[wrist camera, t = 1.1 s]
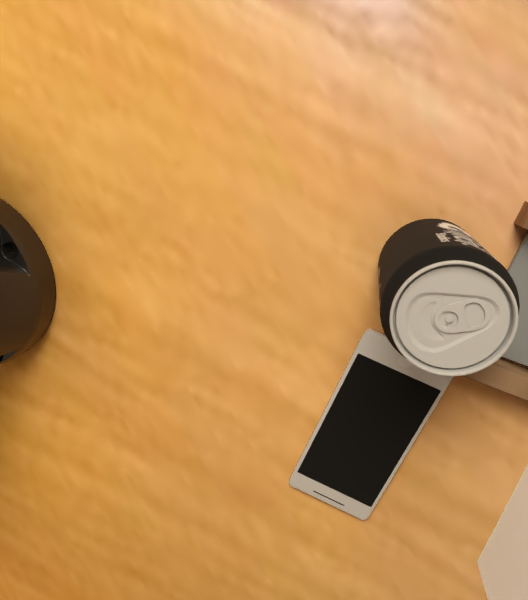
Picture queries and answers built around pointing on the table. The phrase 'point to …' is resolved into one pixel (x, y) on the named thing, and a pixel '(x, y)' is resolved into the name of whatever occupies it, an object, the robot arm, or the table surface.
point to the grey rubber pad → (524, 273)
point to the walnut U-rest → (502, 371)
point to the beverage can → (445, 299)
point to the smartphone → (367, 427)
